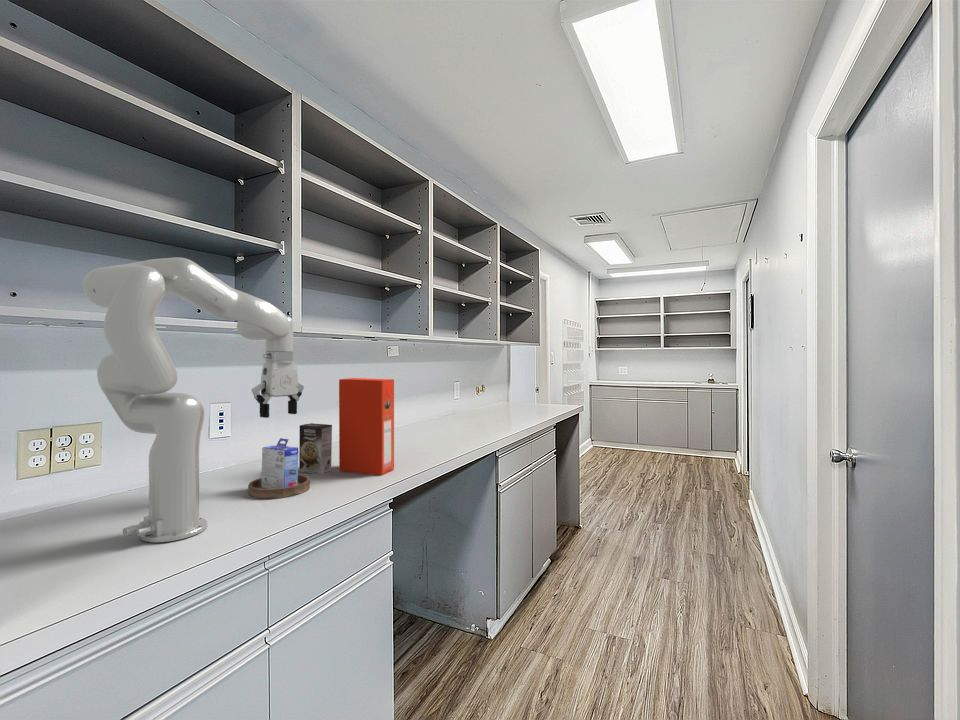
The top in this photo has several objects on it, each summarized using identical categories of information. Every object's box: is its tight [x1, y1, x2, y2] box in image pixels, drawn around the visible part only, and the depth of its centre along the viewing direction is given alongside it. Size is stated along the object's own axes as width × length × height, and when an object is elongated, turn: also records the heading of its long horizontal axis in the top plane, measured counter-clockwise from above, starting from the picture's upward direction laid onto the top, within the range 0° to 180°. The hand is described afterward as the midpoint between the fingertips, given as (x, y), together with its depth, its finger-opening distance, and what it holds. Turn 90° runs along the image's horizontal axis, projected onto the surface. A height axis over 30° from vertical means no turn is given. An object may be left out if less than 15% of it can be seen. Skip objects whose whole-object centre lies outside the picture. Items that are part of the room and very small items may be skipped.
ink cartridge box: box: [261, 437, 299, 489], centre depth 135 cm, size 10×6×14 cm, turn 64°
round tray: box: [247, 473, 311, 500], centre depth 135 cm, size 17×17×3 cm
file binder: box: [338, 377, 395, 476], centre depth 158 cm, size 8×17×32 cm, turn 70°
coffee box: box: [298, 422, 333, 475], centre depth 157 cm, size 9×6×16 cm
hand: (278, 415), depth 134 cm, fingers open, 9 cm apart
